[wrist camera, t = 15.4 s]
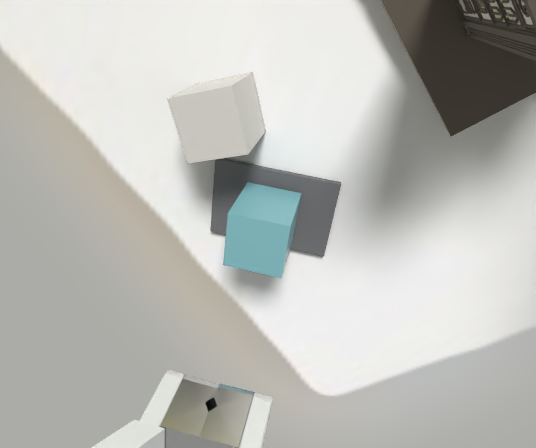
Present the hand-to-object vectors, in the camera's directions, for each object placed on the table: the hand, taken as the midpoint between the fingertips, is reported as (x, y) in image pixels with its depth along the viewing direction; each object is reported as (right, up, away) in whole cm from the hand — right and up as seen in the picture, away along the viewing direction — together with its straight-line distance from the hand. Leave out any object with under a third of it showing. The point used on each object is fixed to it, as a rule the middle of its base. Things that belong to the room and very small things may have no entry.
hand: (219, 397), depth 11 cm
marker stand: (+2, +6, +30) cm, 31 cm away
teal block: (+2, +6, +29) cm, 30 cm away
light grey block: (-2, +15, +26) cm, 30 cm away
